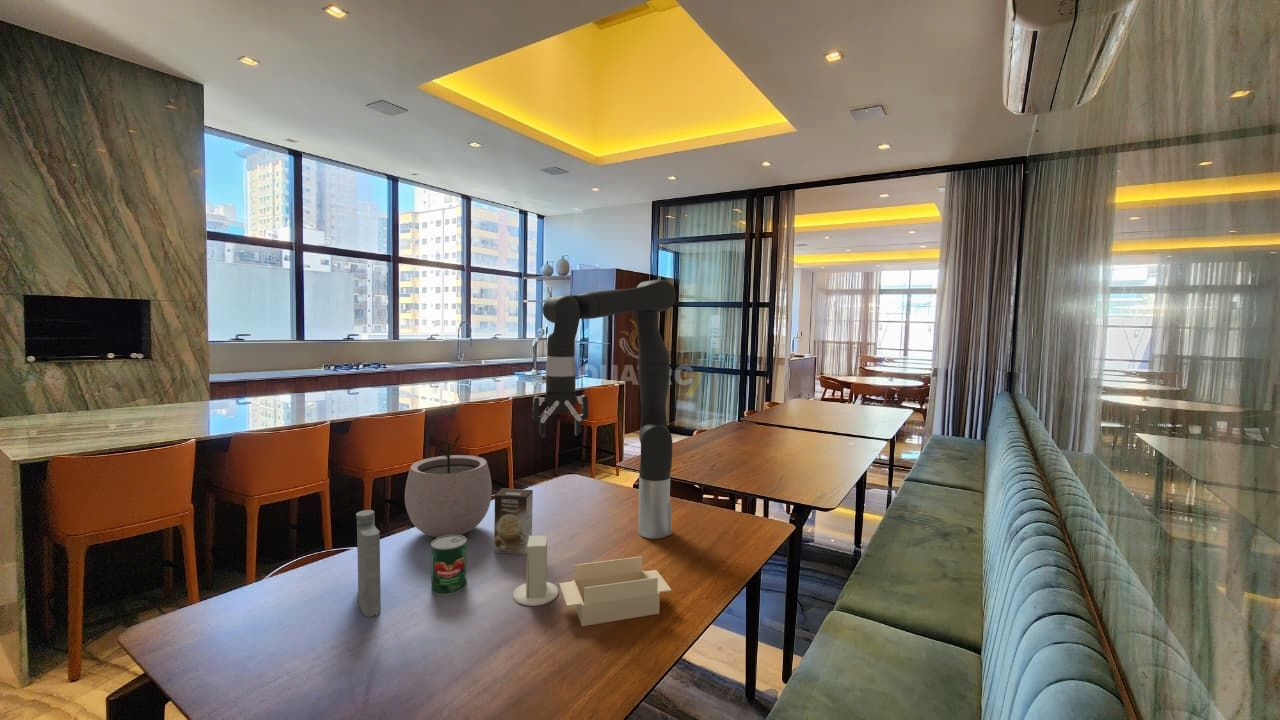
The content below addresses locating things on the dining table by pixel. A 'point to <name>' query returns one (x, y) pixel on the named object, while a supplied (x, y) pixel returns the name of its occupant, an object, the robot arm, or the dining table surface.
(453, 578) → the canned tomato
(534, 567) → the skincare box
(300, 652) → the dining table surface
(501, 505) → the coffee box
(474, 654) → the dining table surface
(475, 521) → the plant pot
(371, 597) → the hip flask
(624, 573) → the carton
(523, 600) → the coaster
